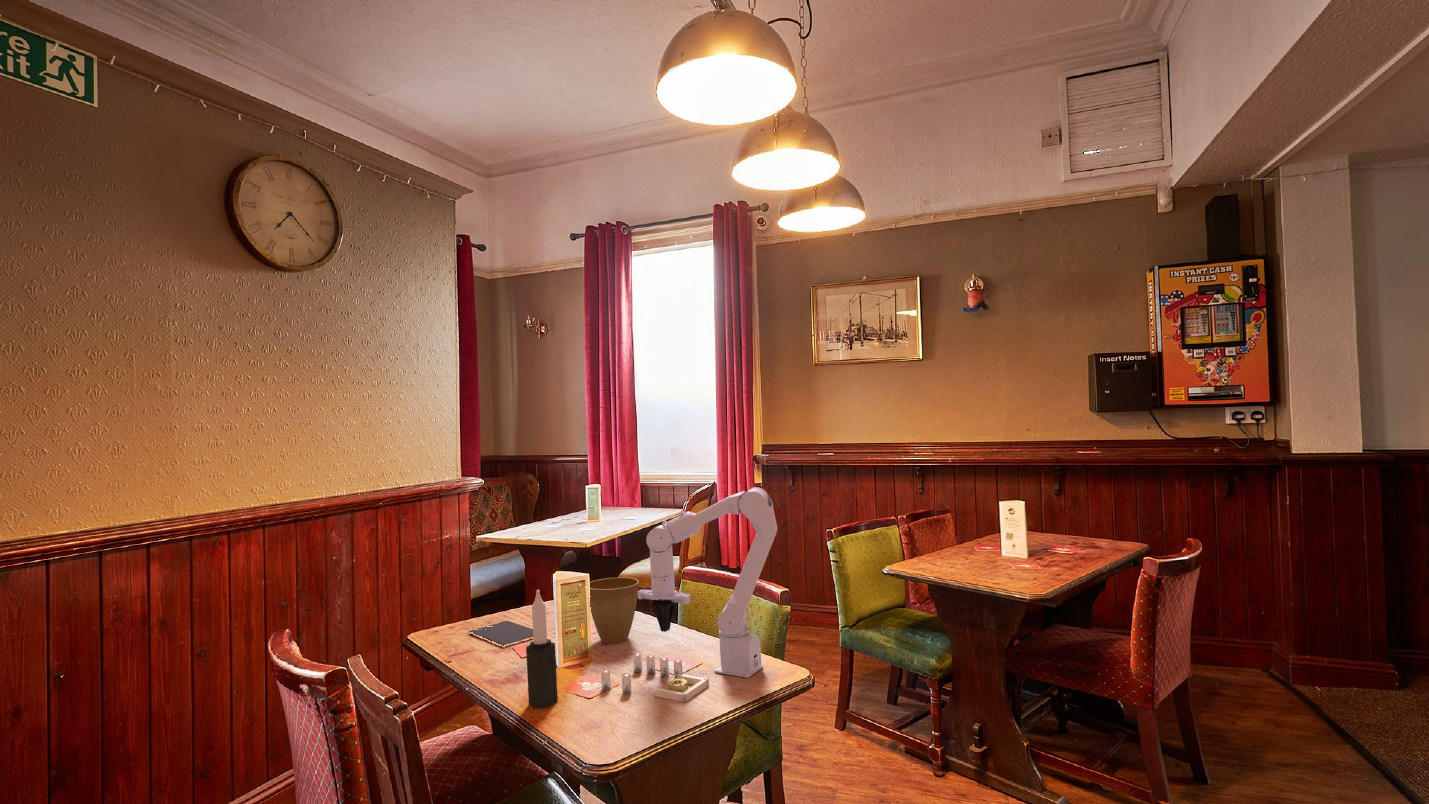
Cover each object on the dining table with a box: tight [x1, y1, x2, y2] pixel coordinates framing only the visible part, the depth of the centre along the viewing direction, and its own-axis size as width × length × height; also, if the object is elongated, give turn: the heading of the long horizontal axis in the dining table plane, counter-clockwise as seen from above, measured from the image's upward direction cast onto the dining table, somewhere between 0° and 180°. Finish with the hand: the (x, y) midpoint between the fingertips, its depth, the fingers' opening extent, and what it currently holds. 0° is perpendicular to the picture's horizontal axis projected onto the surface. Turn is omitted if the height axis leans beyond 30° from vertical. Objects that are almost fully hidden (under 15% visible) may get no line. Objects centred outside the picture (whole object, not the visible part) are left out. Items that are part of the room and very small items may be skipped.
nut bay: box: [654, 674, 710, 703], centre depth 156 cm, size 8×10×2 cm
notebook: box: [468, 620, 533, 646], centre depth 205 cm, size 13×2×21 cm
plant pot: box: [589, 577, 640, 645], centre depth 196 cm, size 15×15×16 cm
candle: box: [525, 589, 559, 710], centre depth 154 cm, size 5×5×25 cm
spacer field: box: [600, 652, 684, 696], centre depth 162 cm, size 14×14×4 cm
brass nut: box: [666, 678, 689, 693], centre depth 157 cm, size 4×5×2 cm
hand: (665, 630), depth 171 cm, fingers closed
